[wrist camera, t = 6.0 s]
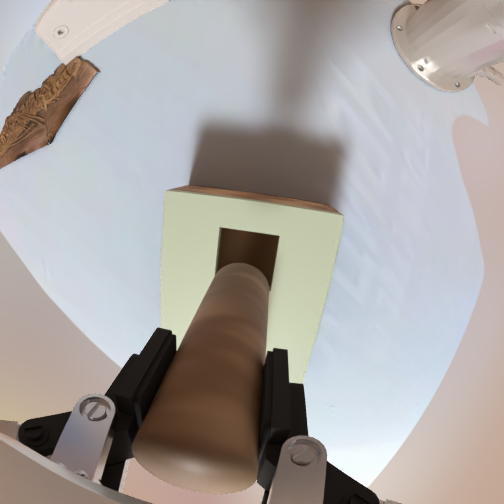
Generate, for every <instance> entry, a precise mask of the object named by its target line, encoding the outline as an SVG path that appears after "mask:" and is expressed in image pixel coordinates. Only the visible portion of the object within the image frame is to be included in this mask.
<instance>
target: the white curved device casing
mask: <svg viewBox="0 0 504 504" xmlns="http://www.w3.org/2000/svg"><path fill="white" fill-rule="evenodd" d="M167 2H169V0H51V1H50V2H49V4H48V5H47V6H46V7H45V9H44V10H43V12H42V13H41V15H40V17H39V18H38V21H37V24H36V33H37V34H38V35H39V36H40V37H41V38H42V39H43V40H44V41H45V42H46V43H47V45H48V46H49V47H50V48H51V49H52V50H53V51H54V52H55V53H56V54H57V56H58V58H59V60H60V61H61V62H62V63H64V64H65V65H67V64H68V63H69V62H70V61H71V60H72V59H74V58H75V57H76V56H77V57H79V56H81V55H82V54H83V53H85V52H86V51H87V50H89V49H90V48H92V47H93V46H94V45H96V44H97V43H99V42H100V41H102V40H103V39H105V38H106V37H108V36H109V35H111V34H112V33H114V32H115V31H117V30H118V29H120V28H122V27H123V26H125V25H127V24H128V23H130V22H132V21H133V20H135V19H137V18H139V17H140V16H142V15H144V14H146V13H148V12H149V11H151V10H153V9H155V8H157V7H159V6H161V5H163V4H165V3H167Z"/></svg>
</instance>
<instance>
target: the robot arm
mask: <svg viewBox="0 0 504 504" xmlns="http://www.w3.org/2000/svg"><path fill="white" fill-rule="evenodd" d="M391 33H392V39H393V41H394V44H395V47H396V49H397V51H398V53H399V55H400V56H401V58H402V59H403V61H404V62H405V64H406V65H407V66H408V67H409V68H410V69H411V71H412V72H413V73H414V74H416V75H417V76H418V77H419V78H420V79H421V80H423V81H424V82H425V83H427V84H428V85H430V86H432V87H434V88H436V89H439V90H442V91H445V92H458V91H461V90H464V89H466V88H467V87H469V86H470V85H471V83H472V82H473V80H474V78H475V76H476V75H479V76H481V77H484V76H485V77H487V78H488V79H489V80H491V81H492V82H494V83H496V84H497V85H501V84H502V83H503V80H504V77H503V75H502V74H501V73H500V72H499V71H497V70H495V69H494V68H492V67H490V66H492V65H495V64H498V63H501V62H504V0H427V1H426V2H425V4H423V5H421V4H410V5H406V6H404V7H402V8H401V9H400V10H399V11H398V12H397V13H396V14H395V16H394V17H393V20H392V23H391ZM176 352H177V344H176V335H174V334H172V331H171V330H168V329H163V328H157V329H156V330H155V332H154V333H153V335H152V336H151V338H150V339H149V341H148V342H147V344H146V345H145V347H144V348H143V350H142V351H141V353H140V354H139V355H137V354H133V355H132V356H131V357H130V358H129V360H128V361H127V363H126V364H125V365H124V367H123V368H122V370H121V371H120V373H119V374H118V376H117V377H116V379H115V380H114V382H113V383H112V385H111V386H110V388H109V389H108V391H107V392H106V394H105V395H101V394H88V395H86V396H83V397H82V398H80V399H79V400H78V402H77V403H76V405H75V407H74V409H73V411H71V412H66V413H61V414H56V415H51V416H46V417H40V418H35V419H30V420H27V421H25V422H24V423H23V424H22V425H20V424H19V423H18V422H15V421H5V420H0V504H152V503H149V502H146V501H142V500H140V499H136V498H134V497H131V496H128V495H125V494H123V490H124V485H125V481H126V476H127V472H128V467H129V463H130V458H133V457H134V455H133V453H132V443H133V441H134V439H135V437H136V435H137V432H138V430H139V428H140V426H141V424H142V422H143V420H144V418H145V415H146V413H147V411H148V409H149V407H150V405H151V403H152V401H153V399H154V397H155V395H156V392H157V390H158V388H159V386H160V384H161V382H162V380H163V378H164V376H165V374H166V372H167V370H168V368H169V366H170V364H171V362H172V360H173V358H174V356H175V354H176ZM258 446H259V461H258V473H257V483H258V484H259V485H261V486H262V487H263V488H264V491H263V495H262V499H261V502H260V504H401V503H398V502H394V501H391V500H387V499H386V500H385V501H381V500H379V499H378V497H377V496H376V494H375V493H373V492H372V491H371V490H370V489H368V488H366V487H365V486H363V485H362V484H360V483H359V482H357V481H355V480H354V479H352V478H351V477H349V476H348V475H346V474H345V473H343V472H342V471H341V470H339V469H338V468H336V467H335V466H333V465H332V464H330V463H329V462H328V461H327V452H326V449H325V447H324V445H323V444H322V443H321V442H320V441H319V440H317V439H315V438H313V437H309V436H308V428H307V416H306V405H305V394H304V386H303V384H300V383H290V382H289V365H288V350H287V349H279V348H273V351H267V355H266V360H265V364H264V374H263V389H262V403H261V416H260V429H259V441H258Z"/></svg>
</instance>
